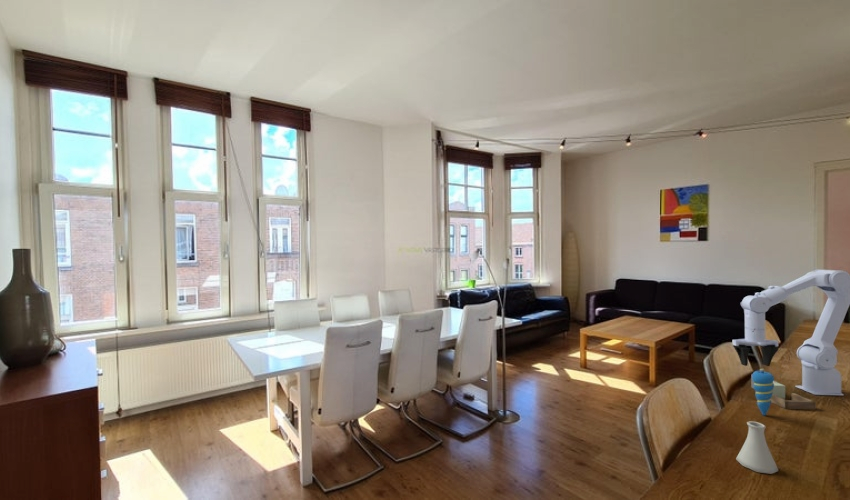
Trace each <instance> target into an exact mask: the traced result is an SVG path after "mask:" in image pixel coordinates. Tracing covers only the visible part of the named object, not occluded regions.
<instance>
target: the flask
mask: <svg viewBox="0 0 850 500" xmlns="http://www.w3.org/2000/svg"><path fill="white" fill-rule="evenodd" d="M746 424H747V427H748V431H747V437H746V438H745V441H744V443H743V445H742V447H741V449H740V450H739V453H738V455H736V458H735V460H736V461H737V462H738V463H740V465H741V466H743V467H745V468H747V469H749V470H752V471H754V472H756V473H761V474H762V473H763V474H771V475H772V474H775V473H777V472H779V468H778V466H777V464H776V462H775V460H774V457H773V455H772V453H771V451H770V448H769V446H768V443H767V441H766V440H767V439H766V436H765V429H766V428H767V426H766V425H764V424H763V423H761V422H757V421H746Z"/></svg>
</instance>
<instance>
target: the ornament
mask: <svg viewBox="0 0 850 500" xmlns="http://www.w3.org/2000/svg"><path fill="white" fill-rule="evenodd" d="M752 374H753V375H752V380H753V382H754V385H753V387H754V391H755V395H754V396H755V398H756V400H757V401H756V404H757V407H758V409H759V411H760V413H761V414H762V416H767V413H768V411H769V409H770V406H771V403H772V402H771V397H772V394H773V392H772V390H773V388H774V384H773V381H775V376H774V375H773V374H772V373H770V372H767V371H765V369H764V368H760V369H759V370H755V371H753V373H752Z"/></svg>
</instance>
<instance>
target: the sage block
mask: <svg viewBox="0 0 850 500" xmlns="http://www.w3.org/2000/svg"><path fill="white" fill-rule="evenodd" d="M752 375H753V373H751V376H750V377H751V378H750V382H751V383H750V384H751V385H750V386H751V387H750V388H752V389H754V387H753V385H754V382H753V380H752ZM773 384H774V388H773V390H772V392H773V395H775V396H778V397H780V398H782V399H784V400H786V385H784V384H782V383H780V382H777V381H776V380H774V381H773ZM754 390H755V389H754Z"/></svg>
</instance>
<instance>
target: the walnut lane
mask: <svg viewBox="0 0 850 500" xmlns="http://www.w3.org/2000/svg"><path fill="white" fill-rule="evenodd" d="M790 395H791V400H790V399H787V400H786V399H782V398H780V397H778V396H775V395H773V394H772V397H771V403H772V404H775V405H776V406H778V407H780V408H782V409H784V410H816V409H817V408H816V401H813V400H811V399H809V398H806V397H804V396H802V395H799V394H797V393H796V392H795V393H794V392H791V394H790Z"/></svg>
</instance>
